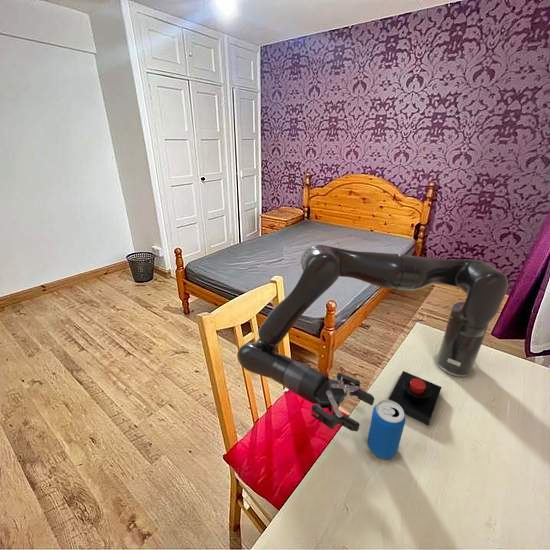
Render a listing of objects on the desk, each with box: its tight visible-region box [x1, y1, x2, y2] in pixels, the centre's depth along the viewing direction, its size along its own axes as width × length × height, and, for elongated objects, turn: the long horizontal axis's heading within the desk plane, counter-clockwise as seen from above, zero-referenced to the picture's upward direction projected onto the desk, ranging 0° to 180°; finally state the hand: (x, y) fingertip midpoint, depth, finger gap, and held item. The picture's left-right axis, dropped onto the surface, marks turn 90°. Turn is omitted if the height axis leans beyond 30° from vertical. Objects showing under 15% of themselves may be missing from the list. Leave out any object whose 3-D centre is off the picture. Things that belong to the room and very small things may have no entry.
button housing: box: [388, 370, 442, 427], centre depth 80 cm, size 10×12×4 cm
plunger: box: [409, 378, 426, 394], centre depth 79 cm, size 4×4×2 cm
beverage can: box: [366, 399, 406, 460], centre depth 66 cm, size 6×6×12 cm
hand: (366, 414), depth 68 cm, fingers open, 8 cm apart
